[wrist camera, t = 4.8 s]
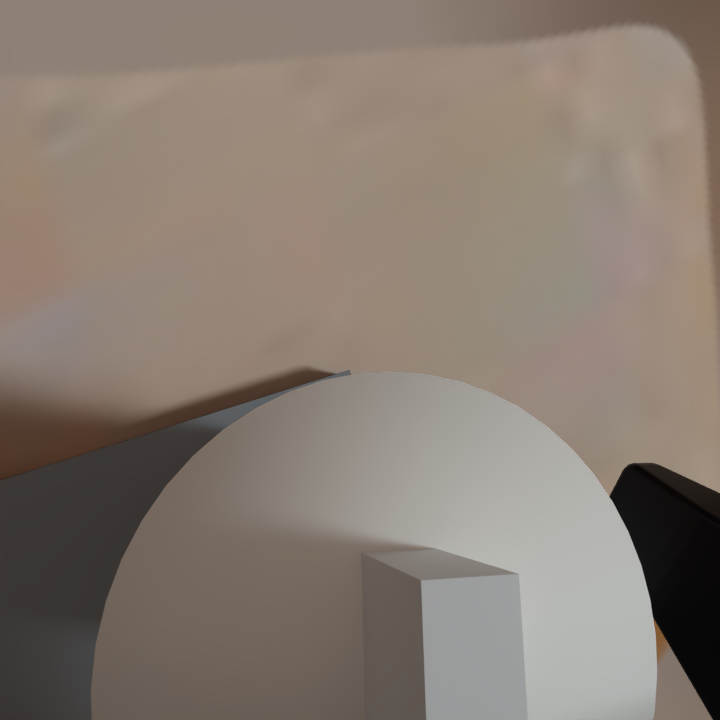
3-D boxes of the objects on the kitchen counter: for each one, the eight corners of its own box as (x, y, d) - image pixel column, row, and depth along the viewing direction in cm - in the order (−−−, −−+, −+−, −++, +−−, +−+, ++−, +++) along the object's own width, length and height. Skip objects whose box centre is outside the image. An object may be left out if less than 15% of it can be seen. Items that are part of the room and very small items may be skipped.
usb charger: (366, 636, 15) (854, 1097, 4) (159, 653, 14) (16, 1359, 3) (361, 436, 15) (760, 345, 5) (165, 439, 14) (69, 325, 3)
